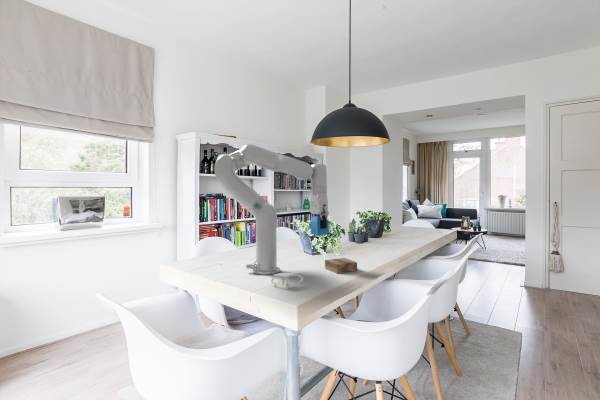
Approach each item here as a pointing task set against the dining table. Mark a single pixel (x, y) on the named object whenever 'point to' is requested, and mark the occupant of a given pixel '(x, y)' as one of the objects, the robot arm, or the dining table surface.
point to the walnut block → (341, 265)
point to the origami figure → (286, 277)
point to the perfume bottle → (318, 226)
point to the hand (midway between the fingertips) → (319, 227)
